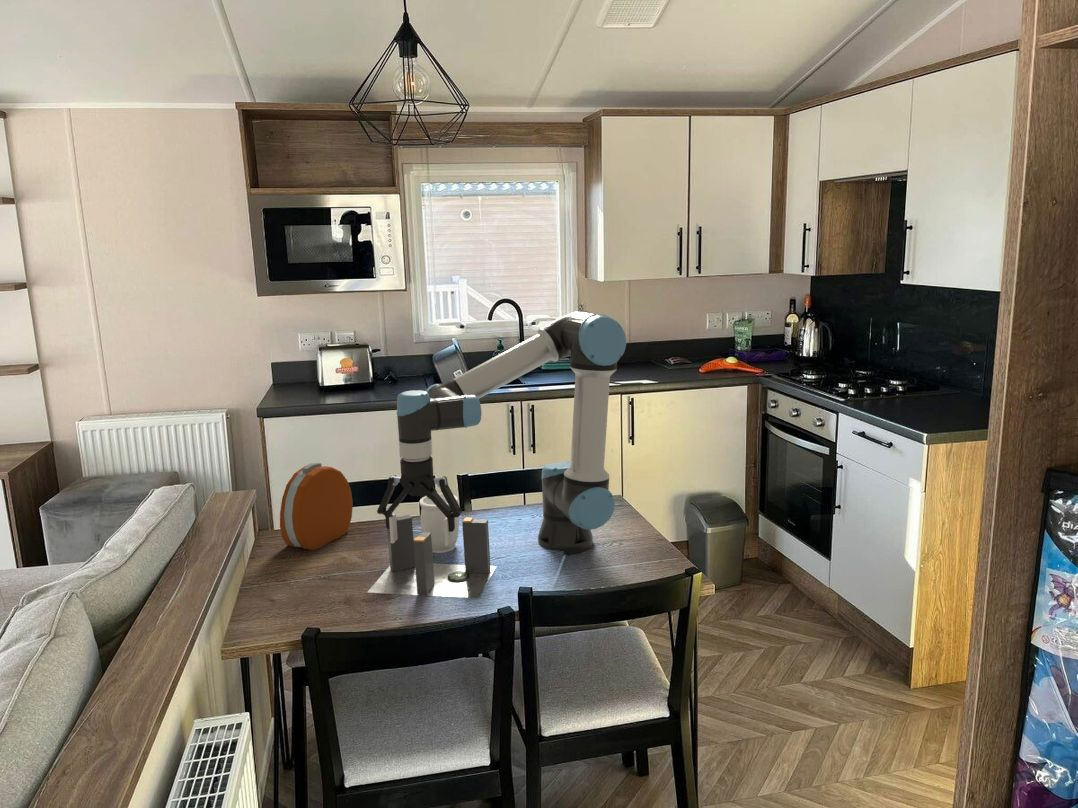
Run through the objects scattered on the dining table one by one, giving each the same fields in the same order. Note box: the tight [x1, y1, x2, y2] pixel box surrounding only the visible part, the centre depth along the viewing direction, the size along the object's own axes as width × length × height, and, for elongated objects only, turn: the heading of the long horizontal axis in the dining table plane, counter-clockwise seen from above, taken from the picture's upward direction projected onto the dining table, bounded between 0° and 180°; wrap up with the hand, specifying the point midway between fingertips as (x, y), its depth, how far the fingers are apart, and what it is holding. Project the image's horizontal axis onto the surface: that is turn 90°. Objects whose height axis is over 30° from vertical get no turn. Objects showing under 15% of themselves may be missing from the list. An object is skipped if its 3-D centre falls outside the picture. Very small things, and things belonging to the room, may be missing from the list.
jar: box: [419, 492, 460, 554], centre depth 223 cm, size 11×10×15 cm
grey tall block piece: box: [461, 516, 491, 573], centre depth 206 cm, size 6×2×14 cm, turn 79°
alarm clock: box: [279, 462, 354, 551], centre depth 234 cm, size 22×10×23 cm, turn 153°
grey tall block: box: [386, 514, 415, 572], centre depth 210 cm, size 6×2×14 cm, turn 116°
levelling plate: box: [367, 563, 497, 599], centre depth 204 cm, size 28×18×2 cm, turn 79°
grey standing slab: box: [413, 531, 435, 596], centre depth 197 cm, size 6×2×14 cm, turn 170°
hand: (421, 542), depth 195 cm, fingers open, 13 cm apart
